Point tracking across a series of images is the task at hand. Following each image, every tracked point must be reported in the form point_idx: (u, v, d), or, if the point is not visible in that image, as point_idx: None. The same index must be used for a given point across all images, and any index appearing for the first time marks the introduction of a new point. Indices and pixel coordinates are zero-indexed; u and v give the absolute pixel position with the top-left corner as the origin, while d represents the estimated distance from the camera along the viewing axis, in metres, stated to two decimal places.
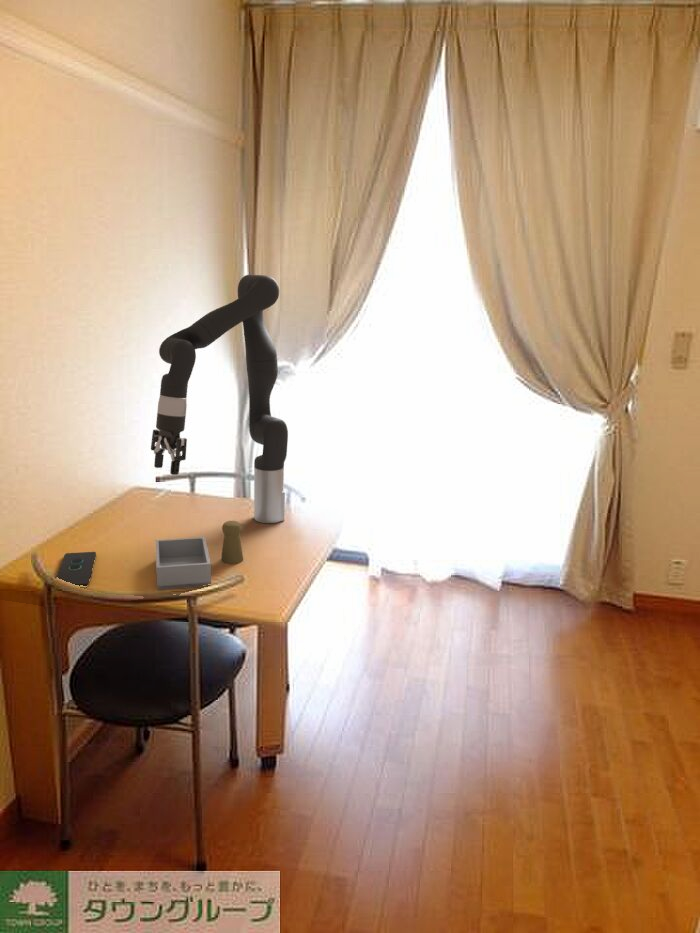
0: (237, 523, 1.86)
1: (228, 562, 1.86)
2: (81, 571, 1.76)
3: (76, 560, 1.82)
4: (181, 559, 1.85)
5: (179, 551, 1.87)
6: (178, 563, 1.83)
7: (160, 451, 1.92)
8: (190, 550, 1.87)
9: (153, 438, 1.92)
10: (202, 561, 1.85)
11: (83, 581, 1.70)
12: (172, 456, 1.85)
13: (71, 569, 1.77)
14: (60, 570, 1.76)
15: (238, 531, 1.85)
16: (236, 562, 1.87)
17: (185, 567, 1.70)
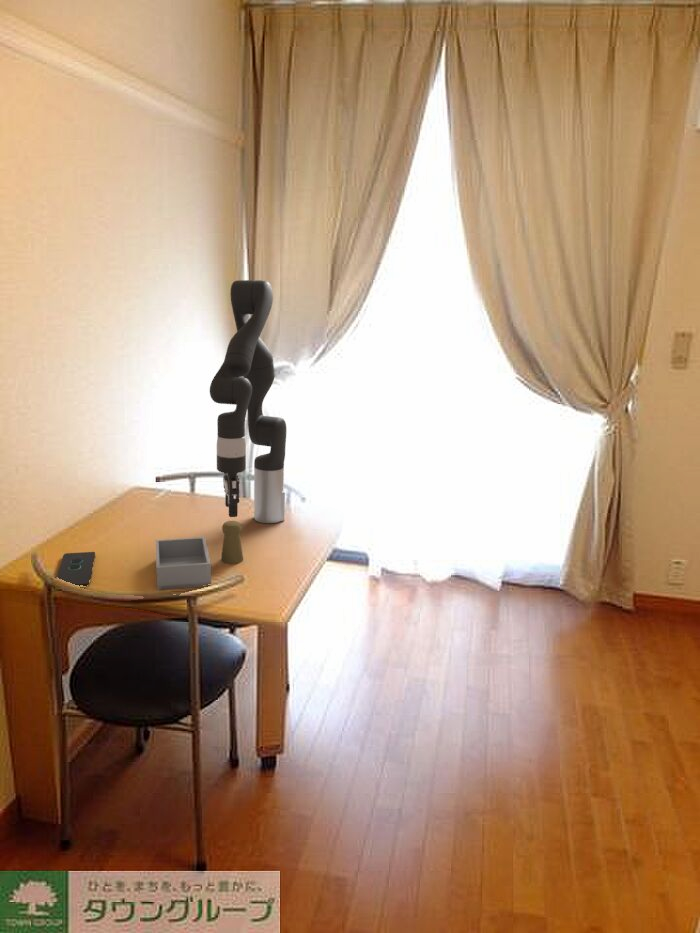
0: (237, 523, 1.86)
1: (228, 562, 1.86)
2: (81, 572, 1.76)
3: (75, 560, 1.82)
4: (181, 559, 1.85)
5: (179, 551, 1.87)
6: (178, 563, 1.83)
7: None
8: (190, 550, 1.87)
9: None
10: (202, 561, 1.85)
11: (84, 581, 1.70)
12: (228, 498, 1.79)
13: (71, 569, 1.77)
14: (60, 570, 1.76)
15: (238, 531, 1.85)
16: (236, 562, 1.87)
17: (185, 567, 1.70)
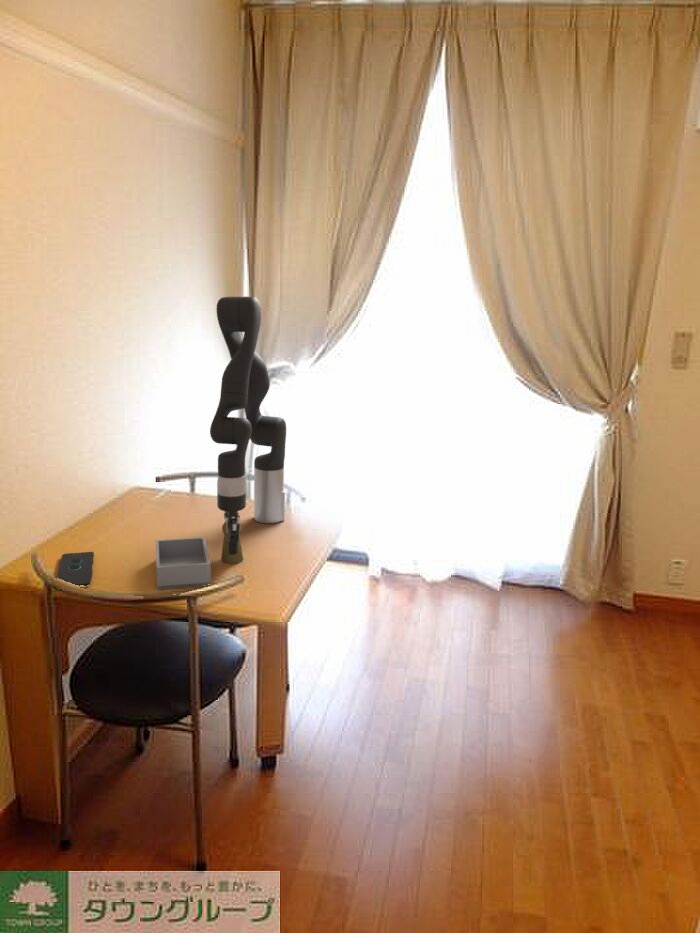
0: None
1: (228, 562, 1.86)
2: (82, 571, 1.76)
3: (75, 560, 1.82)
4: (181, 559, 1.85)
5: (179, 551, 1.87)
6: (178, 563, 1.83)
7: None
8: (190, 550, 1.87)
9: None
10: (202, 561, 1.85)
11: (85, 581, 1.70)
12: (228, 537, 1.84)
13: (71, 569, 1.76)
14: (60, 570, 1.76)
15: None
16: (236, 562, 1.87)
17: (185, 567, 1.70)
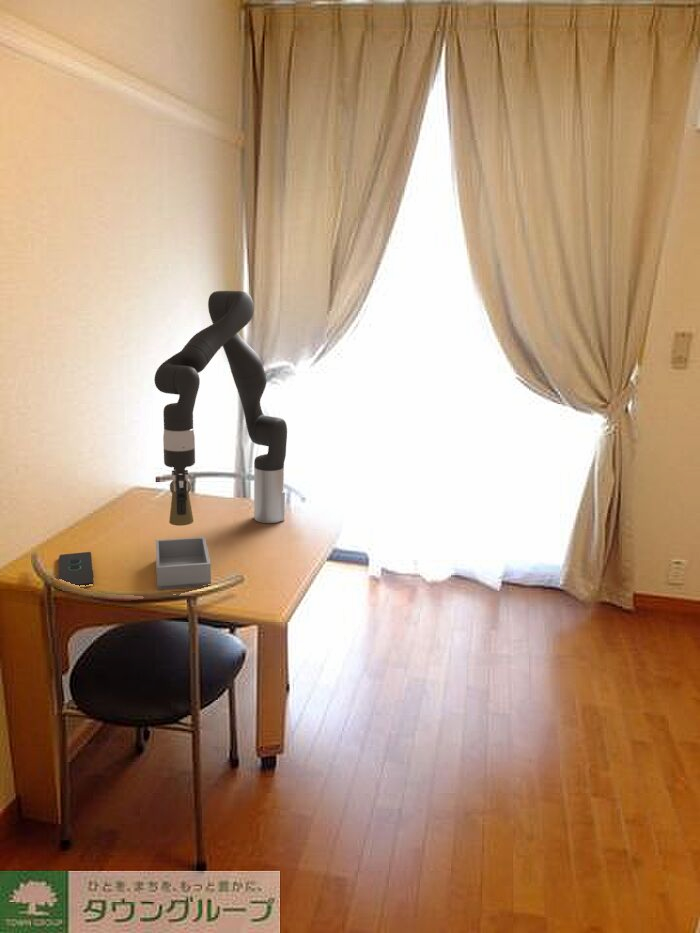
0: None
1: (176, 523, 1.73)
2: (83, 571, 1.76)
3: (73, 561, 1.81)
4: (181, 559, 1.85)
5: (179, 551, 1.87)
6: (178, 563, 1.83)
7: None
8: (190, 550, 1.87)
9: None
10: (202, 561, 1.85)
11: (88, 581, 1.71)
12: None
13: (71, 569, 1.76)
14: (60, 571, 1.75)
15: None
16: (185, 523, 1.74)
17: (185, 567, 1.70)
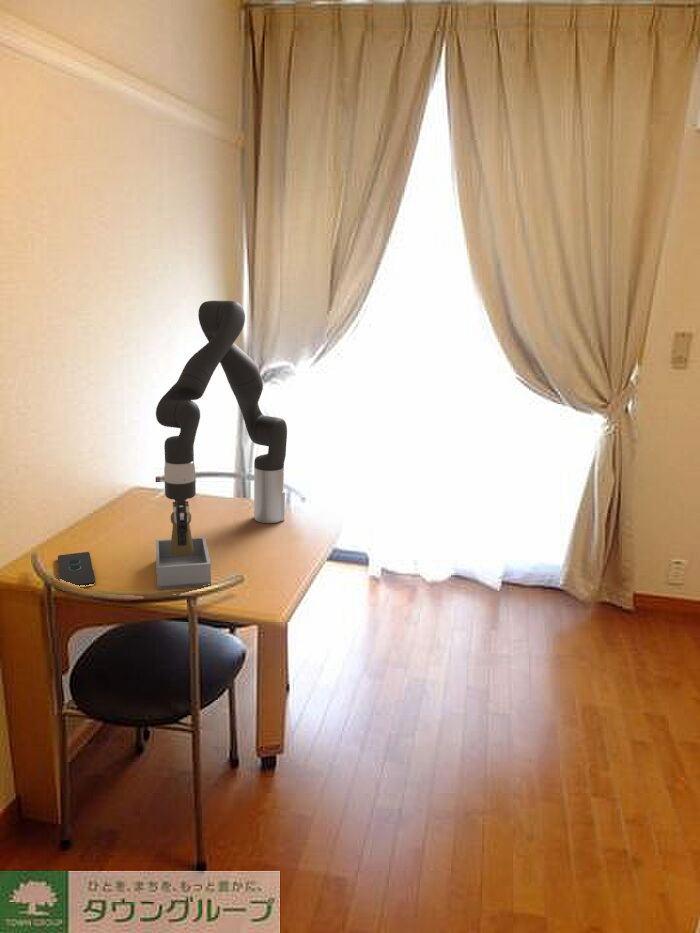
0: None
1: (177, 554, 1.75)
2: (84, 571, 1.76)
3: (73, 561, 1.81)
4: (181, 559, 1.85)
5: None
6: (178, 563, 1.83)
7: None
8: None
9: None
10: (202, 561, 1.85)
11: (90, 580, 1.71)
12: None
13: (72, 570, 1.76)
14: (61, 571, 1.75)
15: None
16: (185, 554, 1.76)
17: (185, 567, 1.70)
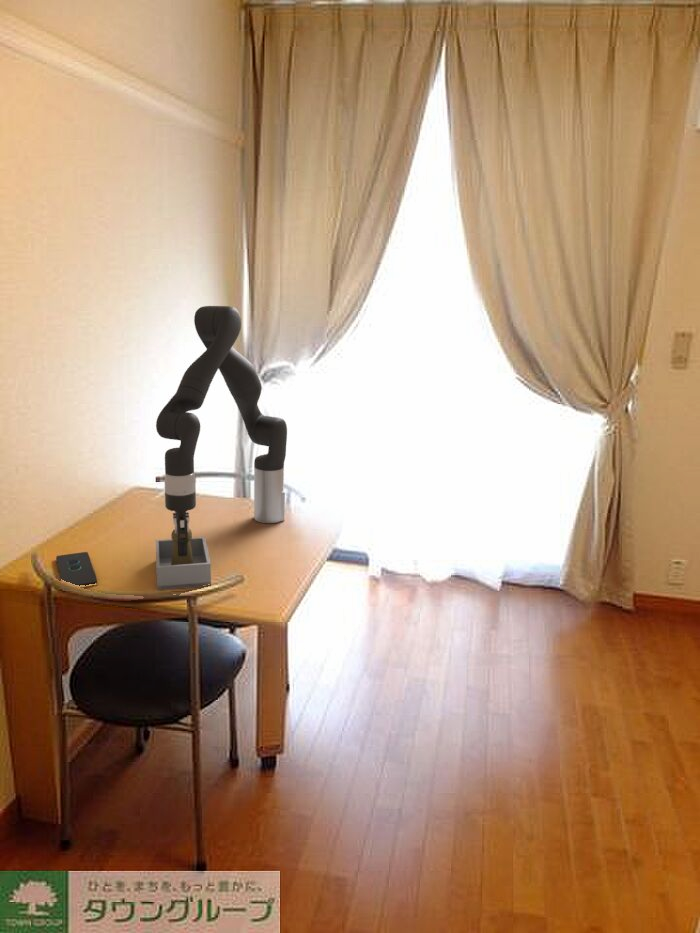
0: None
1: None
2: (84, 571, 1.76)
3: (72, 561, 1.81)
4: None
5: None
6: None
7: None
8: None
9: (175, 512, 1.81)
10: (202, 561, 1.85)
11: (92, 580, 1.71)
12: (177, 537, 1.72)
13: (72, 570, 1.76)
14: (61, 572, 1.75)
15: (188, 538, 1.76)
16: None
17: (185, 567, 1.70)
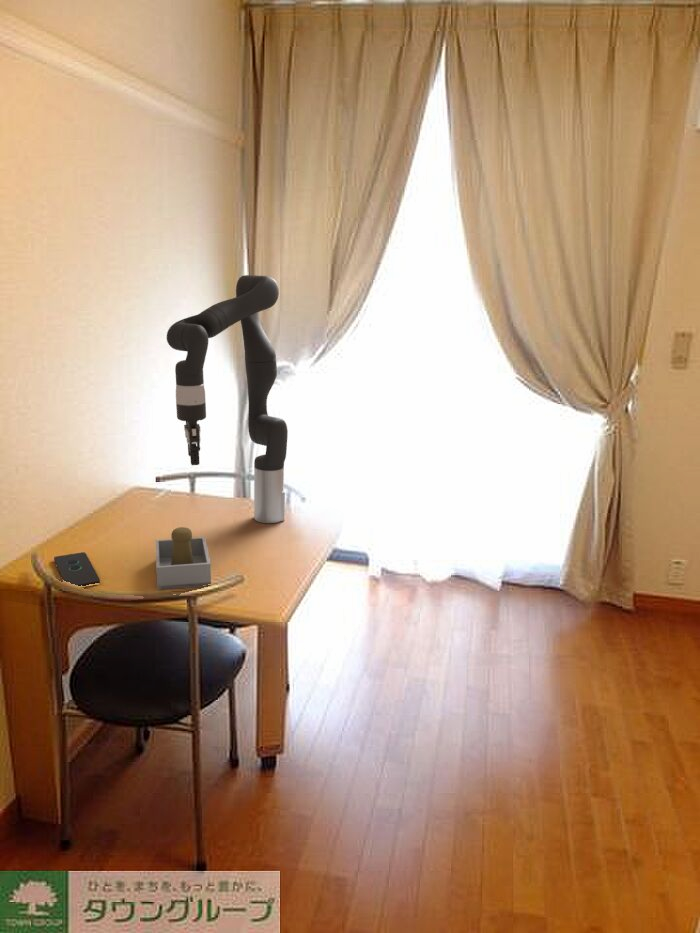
0: (187, 530, 1.77)
1: None
2: (85, 571, 1.76)
3: (71, 561, 1.81)
4: None
5: None
6: None
7: None
8: None
9: None
10: (202, 561, 1.85)
11: (95, 579, 1.72)
12: (189, 446, 1.79)
13: (73, 570, 1.76)
14: (62, 572, 1.75)
15: (188, 538, 1.76)
16: None
17: (185, 567, 1.70)
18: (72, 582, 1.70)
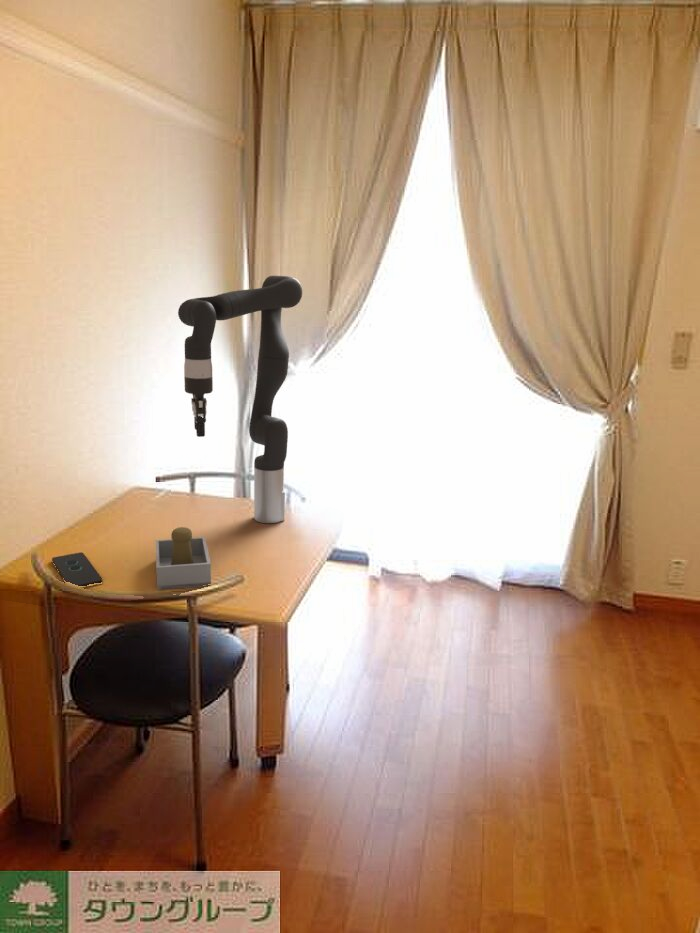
0: (187, 530, 1.77)
1: None
2: (86, 571, 1.76)
3: (70, 562, 1.81)
4: None
5: None
6: None
7: None
8: None
9: None
10: (202, 561, 1.85)
11: (97, 579, 1.72)
12: None
13: (73, 570, 1.76)
14: (63, 573, 1.75)
15: (188, 538, 1.76)
16: None
17: (185, 567, 1.70)
18: (75, 582, 1.70)
